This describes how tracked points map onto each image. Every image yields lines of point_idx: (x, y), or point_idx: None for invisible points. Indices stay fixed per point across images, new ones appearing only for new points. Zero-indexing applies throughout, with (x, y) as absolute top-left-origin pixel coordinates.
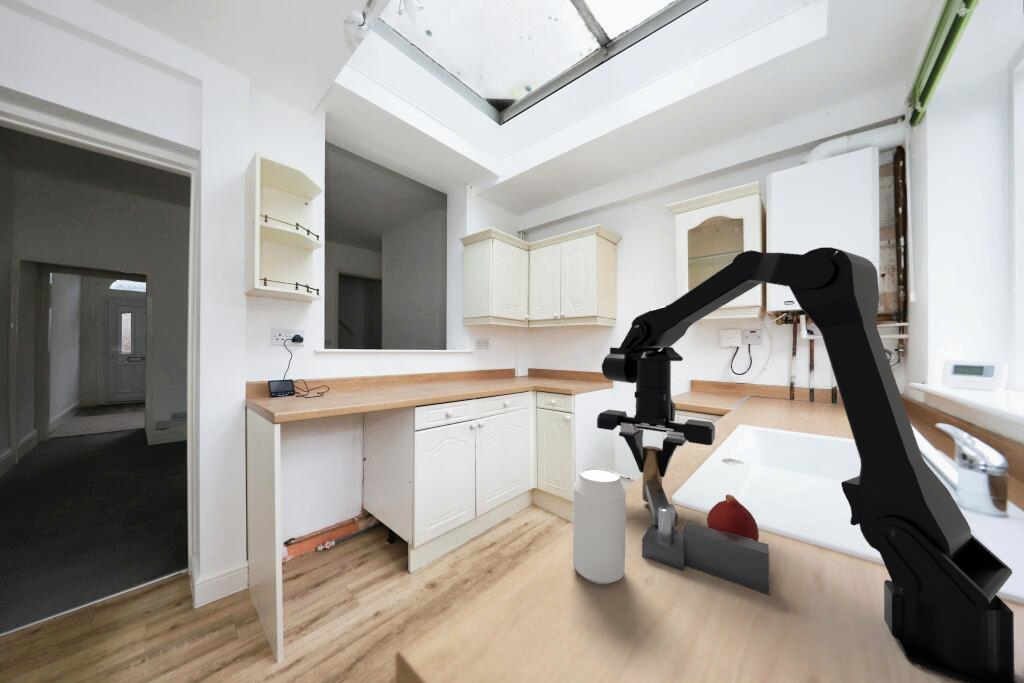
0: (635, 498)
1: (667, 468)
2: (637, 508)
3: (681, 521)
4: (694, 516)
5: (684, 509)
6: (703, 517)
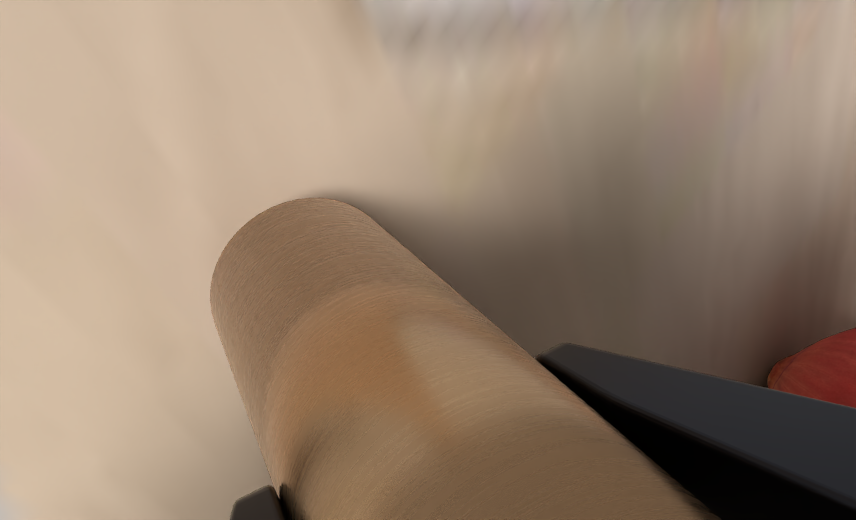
0: (80, 273)
1: (660, 365)
2: (245, 419)
3: (550, 294)
4: (590, 139)
5: (505, 81)
6: (637, 96)
